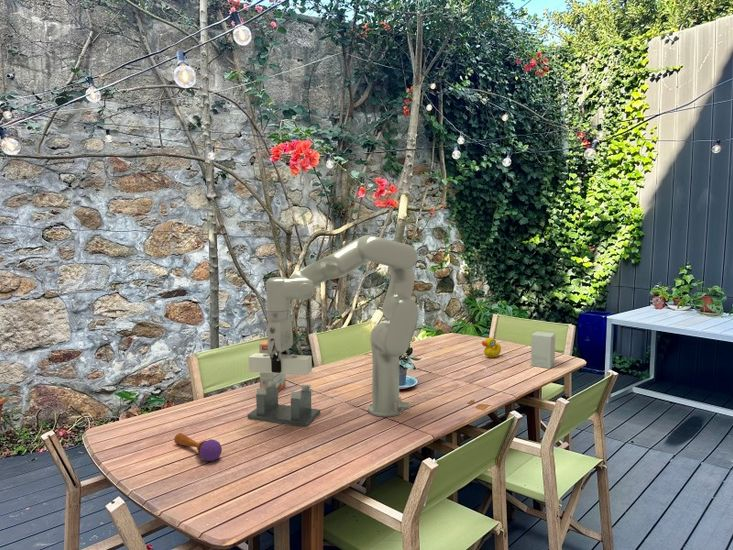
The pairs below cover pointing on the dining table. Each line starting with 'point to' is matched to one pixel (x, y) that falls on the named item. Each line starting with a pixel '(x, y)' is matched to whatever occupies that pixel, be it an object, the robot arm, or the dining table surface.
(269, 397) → the rack
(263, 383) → the cracker box
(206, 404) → the dining table surface
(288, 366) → the cream rectangular bar
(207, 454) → the purple maraca
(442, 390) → the dining table surface
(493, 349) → the duckling
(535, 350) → the supplement box
